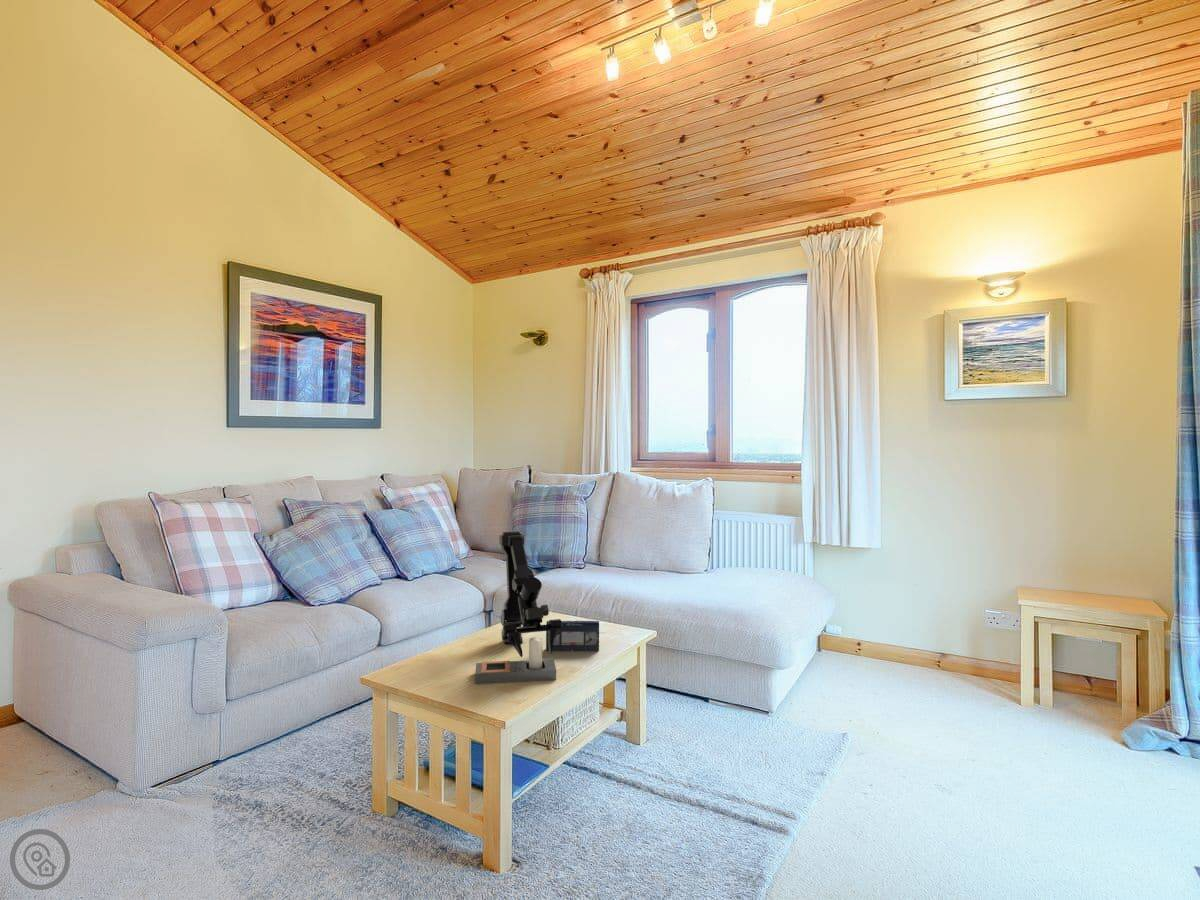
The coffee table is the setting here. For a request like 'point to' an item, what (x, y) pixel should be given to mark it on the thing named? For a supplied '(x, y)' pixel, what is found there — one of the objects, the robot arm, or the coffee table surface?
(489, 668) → the rail
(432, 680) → the coffee table surface
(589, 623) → the vhs cassette tape
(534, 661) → the peg
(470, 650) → the coffee table surface
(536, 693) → the coffee table surface
